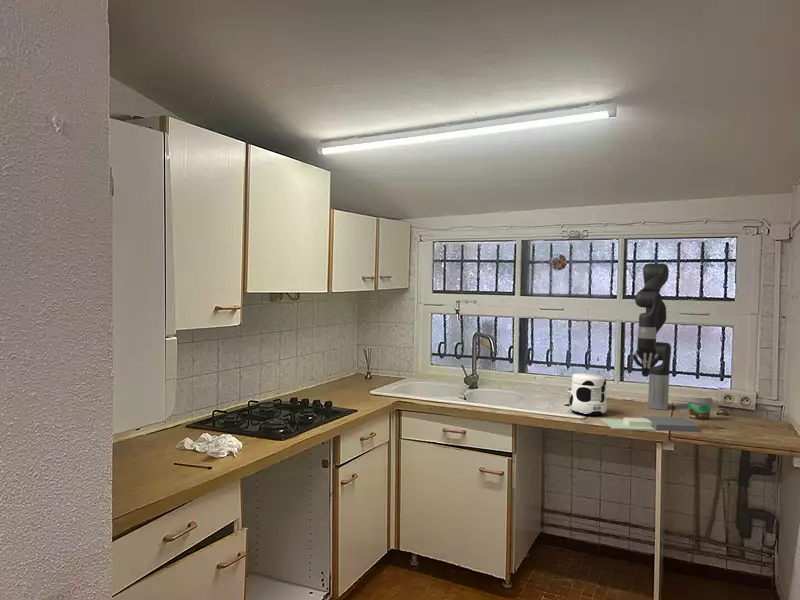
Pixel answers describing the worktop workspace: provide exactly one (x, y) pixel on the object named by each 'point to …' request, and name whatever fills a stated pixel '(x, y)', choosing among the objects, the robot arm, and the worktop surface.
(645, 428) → the mat
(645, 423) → the cream flat block
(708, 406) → the food container
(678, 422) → the platform
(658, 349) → the robot arm
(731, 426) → the worktop surface
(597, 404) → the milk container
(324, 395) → the worktop surface
